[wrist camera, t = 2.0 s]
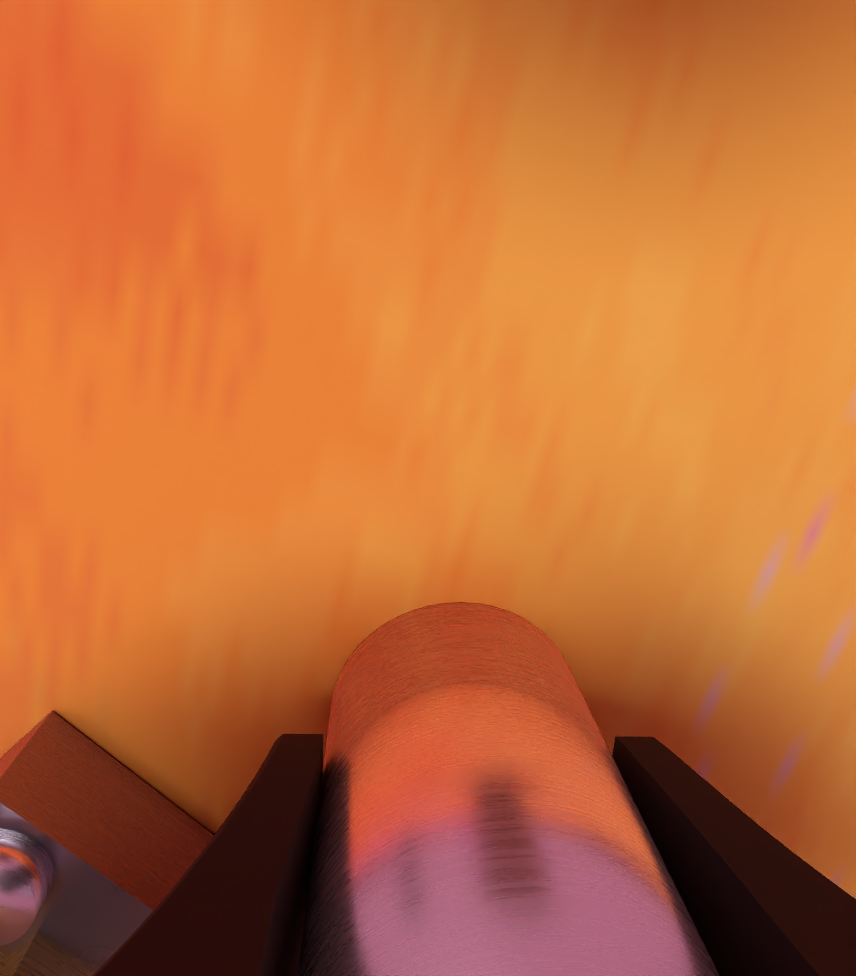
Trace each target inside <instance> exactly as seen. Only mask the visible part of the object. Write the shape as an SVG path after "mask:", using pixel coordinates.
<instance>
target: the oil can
mask: <svg viewBox="0 0 856 976" xmlns="http://www.w3.org/2000/svg"><path fill="white" fill-rule="evenodd" d="M298 976H719V974H718V972H717V969H716V967H715V965H714V963H713V961H712V959H711V957H710V955H709V953H708V951H707V949H706V947H705V945H704V943H703V941H702V939H701V937H700V935H699V933H698V931H697V929H696V927H695V925H694V923H693V920H692V918H691V916H690V914H689V912H688V910H687V908H686V906H685V904H684V902H683V900H682V898H681V896H680V894H679V892H678V890H677V888H676V886H675V884H674V882H673V880H672V878H671V876H670V874H669V871H668V869H667V867H666V865H665V863H664V861H663V859H662V857H661V855H660V853H659V851H658V849H657V847H656V845H655V843H654V841H653V839H652V837H651V835H650V833H649V831H648V829H647V827H646V824H645V822H644V820H643V818H642V816H641V814H640V812H639V810H638V808H637V806H636V804H635V802H634V800H633V798H632V796H631V794H630V792H629V790H628V788H627V786H626V784H625V782H624V780H623V778H622V775H621V773H620V771H619V769H618V767H617V765H616V763H615V761H614V759H613V757H612V755H611V753H610V751H609V749H608V747H607V745H606V743H605V741H604V739H603V737H602V735H601V733H600V731H599V729H598V726H597V724H596V722H595V720H594V718H593V716H592V714H591V712H590V710H589V708H588V706H587V704H586V702H585V700H584V698H583V696H582V694H581V692H580V690H579V688H578V686H577V684H576V682H575V679H574V677H573V675H572V673H571V671H570V669H569V667H568V665H567V663H566V661H565V660H564V658H563V656H562V655H561V653H560V651H559V650H558V648H557V647H556V646H555V645H554V644H553V642H552V641H551V640H550V639H549V638H548V637H547V636H546V635H545V634H544V633H543V632H542V631H541V630H539V629H538V628H537V627H535V626H534V625H532V624H531V623H530V622H528V621H527V620H525V619H523V618H521V617H519V616H517V615H515V614H513V613H511V612H508V611H505V610H502V609H499V608H496V607H492V606H487V605H482V604H474V603H445V604H438V605H432V606H427V607H424V608H420V609H417V610H413V611H411V612H408V613H406V614H403V615H401V616H399V617H397V618H395V619H393V620H391V621H390V622H388V623H386V624H384V625H383V626H381V627H380V628H379V629H377V630H376V631H375V632H373V633H372V634H370V635H369V636H368V637H367V638H366V639H365V640H364V641H363V642H362V643H361V644H360V645H359V646H358V647H357V648H356V650H355V651H354V652H353V653H352V655H351V656H350V657H349V659H348V660H347V662H346V664H345V665H344V667H343V669H342V670H341V672H340V675H339V677H338V680H337V682H336V685H335V688H334V692H333V696H332V701H331V709H330V717H329V726H328V734H327V742H326V750H325V758H324V766H323V775H322V783H321V791H320V800H319V808H318V816H317V824H316V831H315V839H314V848H313V856H312V864H311V872H310V880H309V888H308V896H307V904H306V913H305V921H304V929H303V937H302V945H301V953H300V961H299V969H298Z"/></svg>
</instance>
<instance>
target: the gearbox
mask: <svg viewBox="0 0 856 976" xmlns="http://www.w3.org/2000/svg"><path fill="white" fill-rule="evenodd" d="M213 837H214V835H213V834H212V833H210V832H209V831H208V830H206V829H205V828H204V827H202V826H201V825H200V824H199V823H197V822H196V821H195V820H193V819H192V818H191V817H189V816H188V815H187V814H186V813H184V812H183V811H182V810H180V809H179V808H178V807H176V806H175V805H174V804H172V803H171V802H170V801H169V800H167V799H166V798H165V797H163V796H162V795H161V794H159V793H158V792H157V791H156V790H154V789H153V788H152V787H150V786H149V785H148V784H146V783H145V782H144V781H143V780H141V779H140V778H139V777H137V776H136V775H135V774H133V773H132V772H131V771H129V770H128V769H127V768H126V767H124V766H123V765H122V764H120V763H119V762H118V761H116V760H115V759H114V758H113V757H111V756H110V755H109V754H107V753H106V752H105V751H103V750H102V749H101V748H100V747H98V746H97V745H96V744H94V743H93V742H92V741H90V740H89V739H88V738H86V737H85V736H84V735H83V734H81V733H80V732H79V731H77V730H76V729H75V728H73V727H72V726H71V725H70V724H68V723H67V722H66V721H64V720H63V719H62V718H60V717H59V716H58V715H57V714H55V713H54V712H53V711H52V712H51V713H49V714H48V715H47V716H46V717H45V718H44V719H43V720H42V721H41V722H40V723H38V724H37V725H36V726H35V727H34V728H33V729H32V730H31V731H30V732H29V733H27V734H26V735H25V736H24V737H23V738H22V739H21V740H20V741H19V742H18V743H16V744H15V745H14V746H13V747H12V748H11V749H10V750H9V751H8V752H7V753H5V754H4V755H3V756H2V757H1V758H0V976H92V975H93V974H94V973H95V972H96V971H97V970H98V969H99V968H100V967H101V966H102V965H103V964H104V963H105V962H106V961H107V960H108V959H109V958H110V957H111V956H112V955H113V954H114V953H115V952H116V951H117V950H118V949H119V948H120V947H121V945H122V944H123V943H124V942H125V941H126V940H127V939H128V938H129V937H130V936H131V935H132V934H133V933H134V932H135V931H136V929H137V928H138V927H139V926H140V925H141V924H142V923H143V922H144V921H145V920H146V918H147V917H148V916H149V915H150V914H151V913H152V912H153V911H154V909H155V908H156V907H157V906H158V905H159V904H160V902H161V901H162V900H163V899H164V898H165V897H166V896H167V894H168V893H169V892H170V891H171V890H172V888H173V887H174V886H175V885H176V883H177V882H178V881H179V880H180V878H181V877H182V876H183V875H184V873H185V872H186V871H187V870H188V868H189V867H190V866H191V865H192V863H193V862H194V861H195V860H196V858H197V857H198V856H199V855H200V853H201V852H202V851H203V850H204V848H205V847H206V846H207V845H208V843H209V842H210V841H211V839H212V838H213Z"/></svg>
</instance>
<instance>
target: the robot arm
mask: <svg viewBox="0 0 856 976" xmlns="http://www.w3.org/2000/svg"><path fill="white" fill-rule="evenodd" d="M612 757H613V759H614V761H615V763H616V765H617V767H618V769H619V771H620V773H621V775H622V778H623V780H624V782H625V784H626V786H627V788H628V790H629V792H630V794H631V796H632V798H633V800H634V802H635V804H636V806H637V808H638V810H639V812H640V814H641V816H642V818H643V820H644V822H645V824H646V827H647V829H648V831H649V833H650V835H651V837H652V839H653V841H654V843H655V845H656V847H657V849H658V851H659V853H660V855H661V857H662V859H663V861H664V863H665V865H666V867H667V869H668V871H669V874H670V876H671V878H672V880H673V882H674V884H675V886H676V888H677V890H678V892H679V894H680V896H681V898H682V900H683V902H684V904H685V906H686V908H687V910H688V912H689V914H690V916H691V918H692V920H693V923H694V925H695V927H696V929H697V931H698V933H699V935H700V937H701V939H702V941H703V943H704V945H705V947H706V949H707V951H708V953H709V955H710V957H711V959H712V961H713V963H714V965H715V967H716V969H717V972H718V974H719V976H856V899H855V898H853V897H852V896H851V895H849V894H848V893H846V892H845V891H844V890H842V889H841V888H839V887H838V886H837V885H835V884H834V883H833V882H831V881H830V880H829V879H827V878H826V877H825V876H823V875H822V874H821V873H819V872H818V871H817V870H815V869H814V868H813V867H811V866H810V865H809V864H807V863H806V862H805V861H803V860H802V859H801V858H799V857H798V856H797V855H796V854H794V853H793V852H792V851H790V850H789V849H788V848H787V847H785V846H784V845H783V844H782V843H780V842H779V841H778V840H777V839H775V838H774V837H773V836H772V835H770V834H769V833H768V832H767V831H765V830H764V829H763V828H762V827H760V826H759V825H758V824H757V823H755V822H754V821H753V820H752V819H751V818H749V817H748V816H747V815H746V814H745V813H743V812H742V811H741V810H740V809H739V808H737V807H736V806H735V805H734V804H733V803H731V802H730V801H729V800H728V799H727V798H726V797H724V796H723V795H722V794H721V793H720V792H718V791H717V790H716V789H715V788H714V787H713V786H711V785H710V784H709V783H708V782H707V781H706V780H704V779H703V778H702V777H701V776H700V775H699V774H697V773H696V772H695V771H694V770H693V769H691V768H690V767H689V766H688V765H687V764H686V763H684V762H683V761H682V760H681V759H680V758H679V757H677V756H676V755H675V754H674V753H673V752H671V751H670V750H669V749H668V748H667V747H665V746H664V745H663V744H662V743H660V742H659V741H658V740H656V739H655V738H654V737H615V743H614V749H613V755H612ZM322 775H323V734H283V735H281V736H280V737H279V738H278V739H277V740H276V741H275V743H274V745H273V746H272V748H271V750H270V752H269V754H268V756H267V757H266V759H265V761H264V763H263V764H262V766H261V768H260V769H259V771H258V772H257V774H256V776H255V777H254V779H253V780H252V782H251V783H250V785H249V787H248V788H247V790H246V791H245V793H244V794H243V796H242V797H241V799H240V800H239V802H238V803H237V804H236V806H235V807H234V809H233V810H232V811H231V813H230V814H229V816H228V817H227V818H226V820H225V821H224V823H223V824H222V825H221V827H220V828H219V830H218V831H217V833H216V834H215V835H214V837H213V838H212V839H211V841H210V842H209V843H208V845H207V846H206V847H205V848H204V850H203V851H202V852H201V853H200V855H199V856H198V857H197V858H196V860H195V861H194V862H193V863H192V865H191V866H190V867H189V868H188V870H187V871H186V872H185V873H184V875H183V876H182V877H181V878H180V880H179V881H178V882H177V883H176V885H175V886H174V887H173V888H172V890H171V891H170V892H169V893H168V894H167V896H166V897H165V898H164V899H163V900H162V901H161V902H160V904H159V905H158V906H157V907H156V908H155V909H154V911H153V912H152V913H151V914H150V915H149V916H148V917H147V918H146V920H145V921H144V922H143V923H142V924H141V925H140V926H139V927H138V928H137V929H136V931H135V932H134V933H133V934H132V935H131V936H130V937H129V938H128V939H127V940H126V941H125V942H124V943H123V944H122V945H121V947H120V948H119V949H118V950H117V951H116V952H115V953H114V954H113V955H112V956H111V957H110V958H109V959H108V960H107V961H106V962H105V963H104V964H103V965H102V966H101V967H100V968H99V969H98V970H97V971H96V972H95V973H94V974H93V975H92V976H298V969H299V961H300V953H301V945H302V937H303V929H304V921H305V913H306V904H307V896H308V888H309V880H310V872H311V864H312V856H313V848H314V839H315V831H316V824H317V816H318V808H319V800H320V791H321V783H322Z"/></svg>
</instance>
